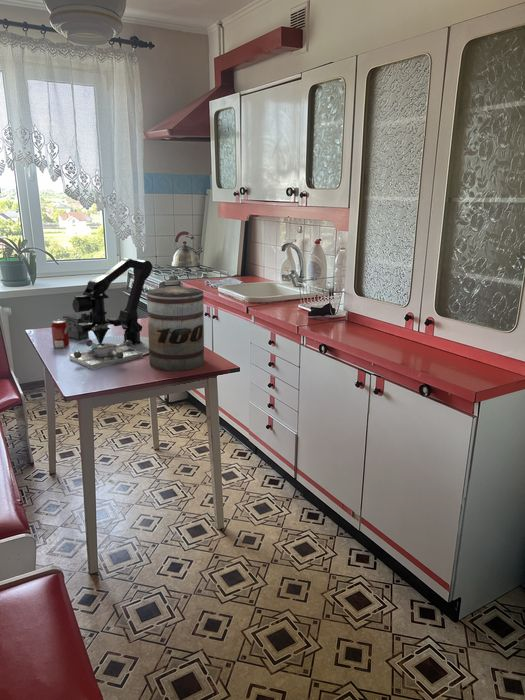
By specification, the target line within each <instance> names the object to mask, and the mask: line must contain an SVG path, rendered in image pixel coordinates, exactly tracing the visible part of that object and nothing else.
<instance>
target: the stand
mask: <svg viewBox="0 0 525 700" xmlns="http://www.w3.org/2000/svg"><path fill="white" fill-rule="evenodd" d="M117 344H118V343H117ZM117 344H115V345H117ZM116 352H122V353H123V355H124V356H123V358H122V359H118V358H117V357H116V355H113V356H109V357H95V356H93V355H92V353H91V354H87V355H82V356H81V357H80V358H75V357H74V353H71V354H68V356H69V360H70V361H73V362H75V363H77V364H78V365H81V366H83V367H86V368H88V369H90V370H96V369H99V368H104V367H109V366H112V365H116V364H120V363H124V362H129V361H133V360H137V359H140V358H143V356H144V355H143V352H142V351H139V350H136V349H134V348H132V347H127V346H123V347H118V348H116Z"/></svg>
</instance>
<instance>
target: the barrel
mask: <svg viewBox="0 0 525 700" xmlns="http://www.w3.org/2000/svg"><path fill="white" fill-rule="evenodd" d="M146 305H147V306H146V307H147V308H146V309H147V329H148V352H149V353H148V354H149V356H148V357H149V366H150V367H151V368H153V369H155V370H158V371H163V372H173V373H174V372H175V373H176V372H181V373H182V372H188V371H187V370H189V371H192V369H193V370H196V369H199V368H200V366H201V367H202V366H203V365H204V364H205V344H204V343H205V341H204V340H205V331H204V329H205V328H204V327H205V325H204V323H205V322H204V321H205V319H204V311H205V309H204V291H203V290H202V289H199V288H195V287H187V286H186V287H185V286H164V287H157V288H152V289H149V290H147V291H146ZM198 367H199V368H198ZM195 368H196V369H195Z"/></svg>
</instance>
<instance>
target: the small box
mask: <svg viewBox="0 0 525 700" xmlns="http://www.w3.org/2000/svg"><path fill="white" fill-rule="evenodd" d="M62 320H65V321H66V323H67V325H68V336H69V339H71V340H75V341H81V340H85V339H86V340H87V339H89V336H90V335H89V332H81V331H78V330H77V329H76V326H77V324H79V323H86V321H82V319H81V314H76V313H73V314H67V315H63V316H62ZM87 324H89V322H88V323H87Z"/></svg>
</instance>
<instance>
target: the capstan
mask: <svg viewBox="0 0 525 700" xmlns="http://www.w3.org/2000/svg"><path fill="white" fill-rule="evenodd" d="M85 346H86V347H91V348H90V350H89V349H88V350H85V351H79V350H77V351H74V352H73V354H74V357H75V358H80V357H81V356H82V355H87V354H91V353H92V355H93V356H95V357H109V356H113V355H116V357H117V358H118V359H122V358H123V356H124V355H123V353H122V352H116V348H118V347H123V346H126V347H129V348H131V347H132V346H133V345H132V342H131V341H130V340H127V341H126V342H125V343H123V342H122V343H121V342H120V343H117V345H116V344H114V343H108V342H107V343H104V342H102V344H99V343H98V344H97V343H94V341H93V340H92V339H86V341H85Z"/></svg>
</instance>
